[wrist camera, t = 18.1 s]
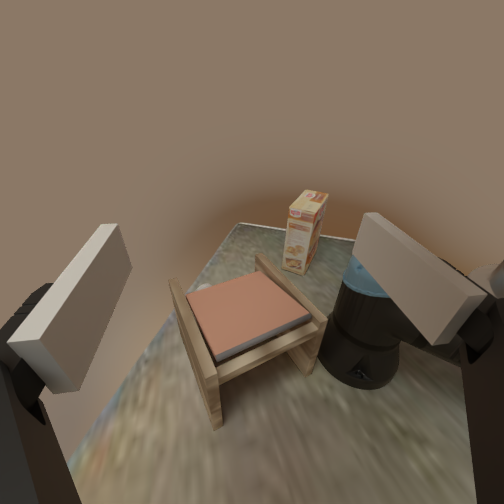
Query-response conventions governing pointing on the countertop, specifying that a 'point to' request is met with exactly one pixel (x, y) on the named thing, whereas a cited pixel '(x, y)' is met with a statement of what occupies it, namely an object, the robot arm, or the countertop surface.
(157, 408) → the countertop surface
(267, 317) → the trapdoor
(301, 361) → the stand
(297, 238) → the coffeecake box
